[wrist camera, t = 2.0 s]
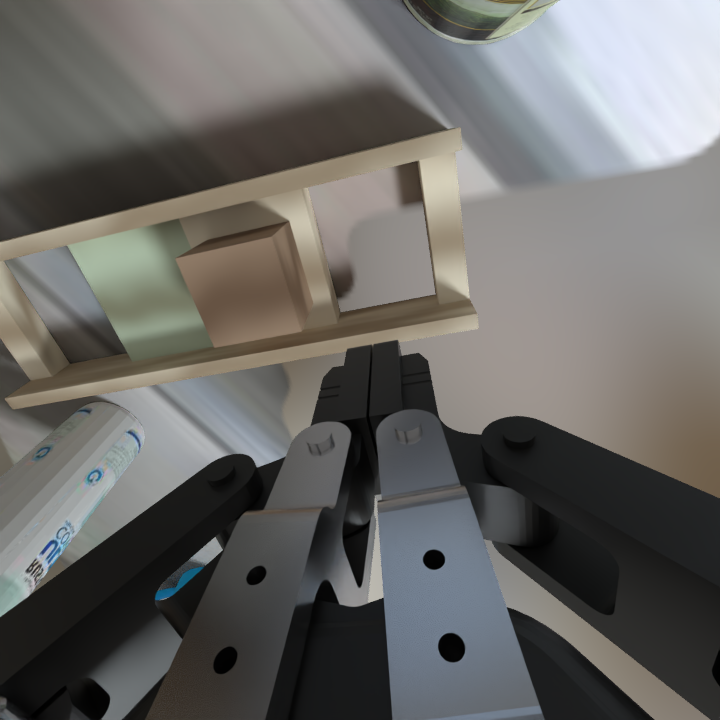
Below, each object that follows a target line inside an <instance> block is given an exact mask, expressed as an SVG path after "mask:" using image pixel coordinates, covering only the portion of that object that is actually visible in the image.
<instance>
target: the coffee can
mask: <svg viewBox="0 0 720 720" xmlns="http://www.w3.org/2000/svg"><path fill="white" fill-rule="evenodd" d="M403 1H404V2H405V4H406V6H407V7H408V9H409V10H410V11H411V12H412V14H413V15H414V17H415V18H416V19H417V20H418V21H419V22H420V23H421V24H423V25H424V26H425V27H426V28H427V29H429V30H430V31H432V32H433V33H435V34H436V35H438V36H440V37H442V38H444V39H447V40H450V41H452V42H456V43H462V44H472V45H477V44H488V43H493V42H496V41H500V40H503V39H505V38H507V37H510V36H512V35H514V34H516V33H518V32H519V31H521V30H523V29H524V28H526V27H527V26H529V25H530V24H532V23H533V22H534V21H535V20H537V19H538V18H539V17H540V16H541V15H542V14H543V13H544V12H546V10H547V9H549V8H550V7H551V6H553V5H554V4H555V3H557V2H558V1H559V0H403Z"/></svg>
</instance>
